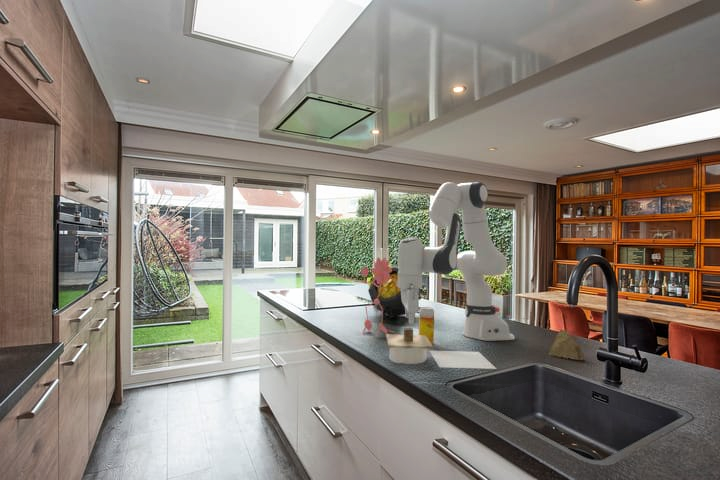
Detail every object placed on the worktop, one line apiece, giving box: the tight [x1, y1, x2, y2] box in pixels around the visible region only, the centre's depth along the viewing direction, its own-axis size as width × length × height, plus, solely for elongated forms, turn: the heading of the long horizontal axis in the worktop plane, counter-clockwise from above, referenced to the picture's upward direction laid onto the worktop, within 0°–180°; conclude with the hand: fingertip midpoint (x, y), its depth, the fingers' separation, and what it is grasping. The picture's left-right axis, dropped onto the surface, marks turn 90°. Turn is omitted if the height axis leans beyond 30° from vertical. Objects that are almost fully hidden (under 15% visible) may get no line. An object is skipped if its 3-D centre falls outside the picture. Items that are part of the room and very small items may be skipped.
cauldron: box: [368, 264, 422, 321], centre depth 209 cm, size 28×28×24 cm
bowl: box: [388, 348, 428, 365], centre depth 133 cm, size 13×13×6 cm
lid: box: [385, 327, 434, 350], centre depth 133 cm, size 15×15×5 cm
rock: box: [548, 328, 585, 361], centre depth 139 cm, size 11×9×10 cm
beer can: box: [418, 306, 435, 345], centre depth 153 cm, size 6×6×15 cm
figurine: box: [360, 256, 398, 339], centre depth 169 cm, size 15×26×35 cm, turn 39°
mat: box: [429, 350, 497, 370], centre depth 133 cm, size 19×19×1 cm
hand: (409, 320), depth 133 cm, fingers open, 8 cm apart
